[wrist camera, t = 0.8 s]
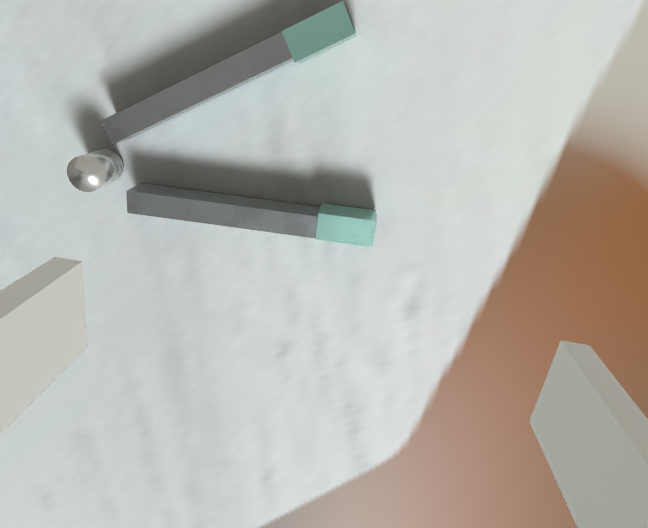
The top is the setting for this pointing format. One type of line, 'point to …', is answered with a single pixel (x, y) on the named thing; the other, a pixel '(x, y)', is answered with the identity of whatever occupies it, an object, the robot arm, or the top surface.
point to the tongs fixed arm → (226, 206)
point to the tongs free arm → (234, 72)
